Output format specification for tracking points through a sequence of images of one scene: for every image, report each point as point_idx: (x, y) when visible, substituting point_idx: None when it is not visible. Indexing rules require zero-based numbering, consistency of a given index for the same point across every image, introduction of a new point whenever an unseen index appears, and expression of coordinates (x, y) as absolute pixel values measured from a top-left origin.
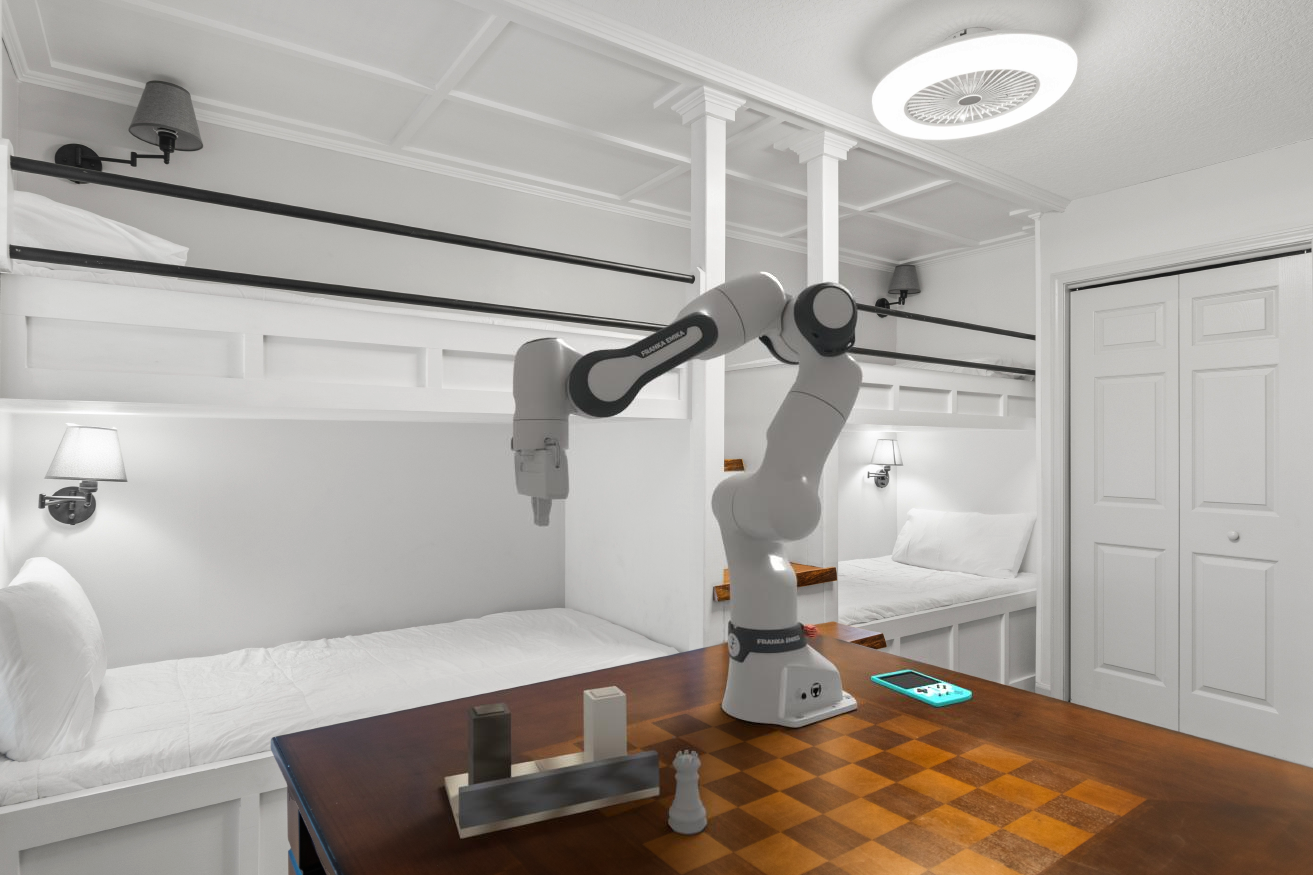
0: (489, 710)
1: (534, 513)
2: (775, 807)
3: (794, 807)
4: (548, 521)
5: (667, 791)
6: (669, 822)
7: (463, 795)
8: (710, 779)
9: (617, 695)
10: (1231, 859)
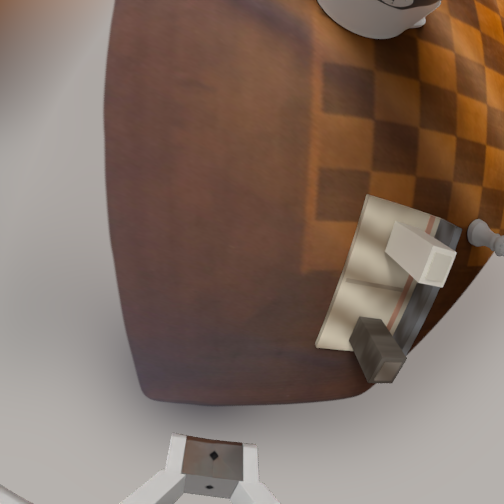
0: (391, 372)
1: (181, 495)
2: (494, 168)
3: (500, 158)
4: (257, 457)
5: (443, 210)
6: (471, 243)
7: None
8: (451, 168)
9: (451, 260)
10: None
